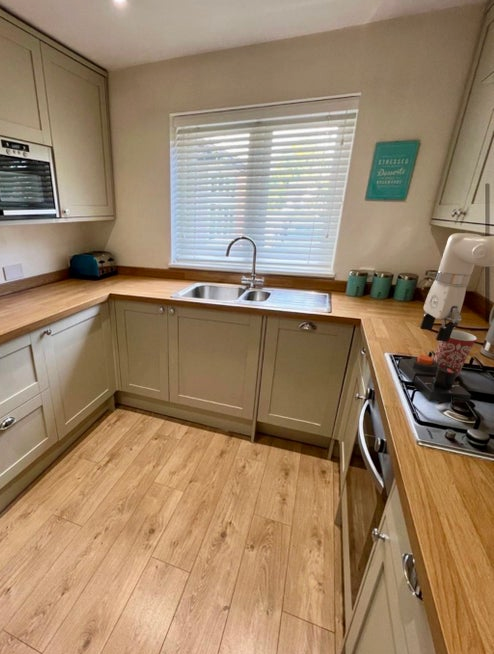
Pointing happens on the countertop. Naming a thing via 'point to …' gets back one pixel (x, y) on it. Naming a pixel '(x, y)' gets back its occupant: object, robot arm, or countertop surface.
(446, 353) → the mug
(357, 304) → the countertop surface
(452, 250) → the robot arm
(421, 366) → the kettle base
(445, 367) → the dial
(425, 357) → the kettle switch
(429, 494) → the countertop surface
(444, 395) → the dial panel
